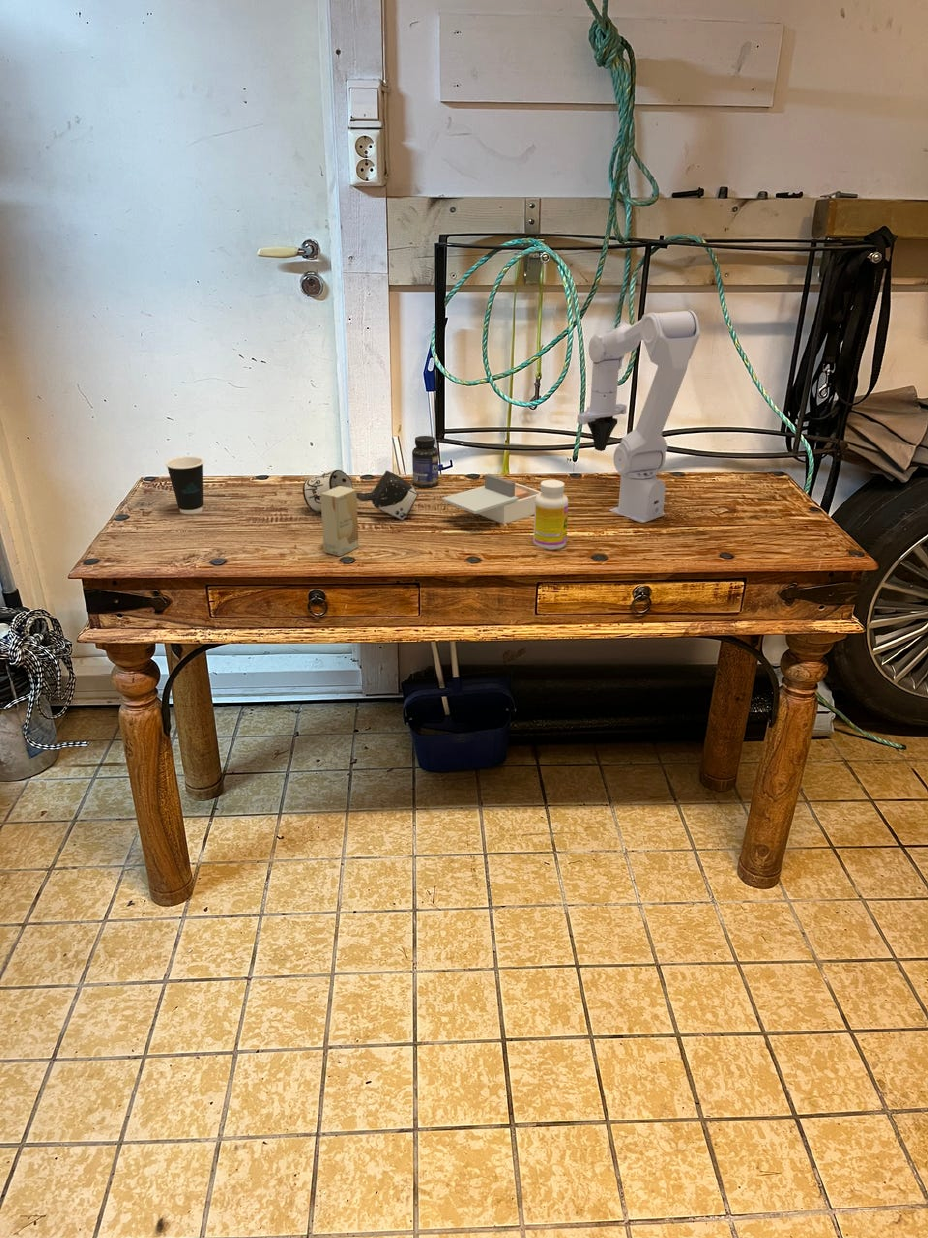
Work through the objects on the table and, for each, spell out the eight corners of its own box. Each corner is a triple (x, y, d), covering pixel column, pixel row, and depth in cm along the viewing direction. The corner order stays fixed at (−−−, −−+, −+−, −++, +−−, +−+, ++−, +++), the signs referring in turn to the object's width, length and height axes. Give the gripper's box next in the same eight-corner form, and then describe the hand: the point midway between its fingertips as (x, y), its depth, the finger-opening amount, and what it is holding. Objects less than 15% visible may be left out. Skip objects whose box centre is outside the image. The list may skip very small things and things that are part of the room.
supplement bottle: (567, 551, 187) (570, 489, 181) (534, 550, 187) (536, 488, 181) (564, 538, 193) (568, 478, 187) (532, 538, 193) (534, 477, 187)
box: (511, 501, 213) (512, 481, 210) (543, 513, 206) (544, 492, 204) (472, 513, 205) (472, 493, 203) (503, 526, 199) (504, 505, 197)
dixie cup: (189, 501, 212) (183, 454, 207) (217, 507, 208) (211, 459, 203) (164, 513, 205) (157, 464, 200) (193, 519, 202) (186, 469, 197)
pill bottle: (437, 488, 220) (437, 442, 215) (411, 488, 220) (410, 442, 215) (439, 479, 226) (438, 434, 221) (413, 479, 226) (412, 434, 221)
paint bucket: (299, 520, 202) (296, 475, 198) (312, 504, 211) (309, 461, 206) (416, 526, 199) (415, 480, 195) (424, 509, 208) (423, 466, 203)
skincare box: (340, 557, 184) (336, 497, 178) (322, 552, 186) (318, 493, 180) (360, 546, 189) (357, 488, 183) (343, 542, 191) (339, 484, 185)
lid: (485, 487, 206) (485, 472, 204) (518, 500, 199) (519, 483, 197) (441, 500, 198) (441, 484, 197) (474, 513, 191) (475, 497, 190)
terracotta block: (514, 504, 209) (515, 487, 207) (527, 509, 206) (528, 491, 205) (501, 508, 207) (502, 491, 205) (514, 513, 204) (514, 496, 202)
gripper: (611, 382, 217) (607, 439, 223) (568, 391, 208) (565, 451, 214) (635, 387, 212) (630, 446, 218) (592, 397, 204) (588, 458, 210)
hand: (599, 449), depth 216 cm, fingers closed
